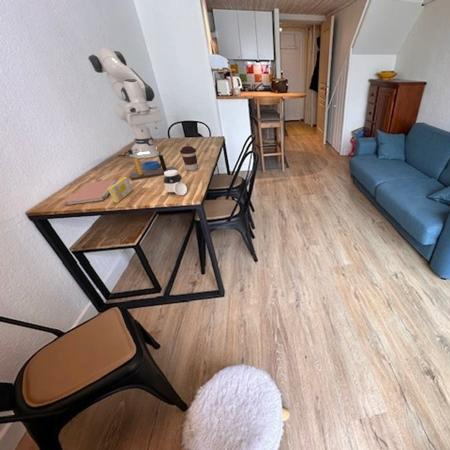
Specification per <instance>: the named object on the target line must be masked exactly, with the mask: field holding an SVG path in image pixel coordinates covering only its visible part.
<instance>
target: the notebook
mask: <svg viewBox="0 0 450 450" xmlns="http://www.w3.org/2000/svg"><path fill="white" fill-rule="evenodd" d="M117 182H118V181H117V180H116V179H111V180H110V179H109V180H101V181H93V182H92V181H91V182H85V183H83V184H82V185H81V186H80V188H78V190H76V192H74V193H73V194H72V195H71V196H69V198H68V199H67V200H66V201H65V203H66V205H67V206H69V205H76V204H84V203H92V202H100V201H101V202H102V201H104V200H105V199H107V197H109V195H110V192H109V190H108V188H109V187H111V186H112V185H114V184H115V183H117Z"/></svg>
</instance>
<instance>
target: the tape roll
mask: <svg viewBox="0 0 450 450" xmlns="http://www.w3.org/2000/svg"><path fill="white" fill-rule="evenodd" d="M141 168H142V171H149V170H155V169H160V168H161V164H160V161H158V160H149V161H145V162H144V161H143V162H142V163H141Z"/></svg>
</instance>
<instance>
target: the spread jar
mask: <svg viewBox="0 0 450 450" xmlns="http://www.w3.org/2000/svg"><path fill="white" fill-rule="evenodd" d="M163 176H164V177H163V186H164V188H165V191H166V192H167V193H168V194H171V195H177V196H184V195H185V194H187V192H188V187H187V186H186V184H185V183H184V179H183V176H182V175H181V174H179V171H178V170H177V169H175V170H168V171H165V172H164V175H163Z"/></svg>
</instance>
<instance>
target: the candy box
mask: <svg viewBox="0 0 450 450" xmlns="http://www.w3.org/2000/svg"><path fill="white" fill-rule="evenodd" d="M108 190H109V192H110V193H109V195H110V196H111V199H112V201H113V202H114V204H119V203H120V202H121V201H122V200H123V199H124V198H125V197H127V196H128V195H129V194H131V193H132V192H133V191H134V189H133V186H132V184H131V182H130V180H129V178H128V176H124V177H122V178H120V179H119V180H118V181H117V183H115V184H114V185H112V186H111V187H109V188H108Z"/></svg>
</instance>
